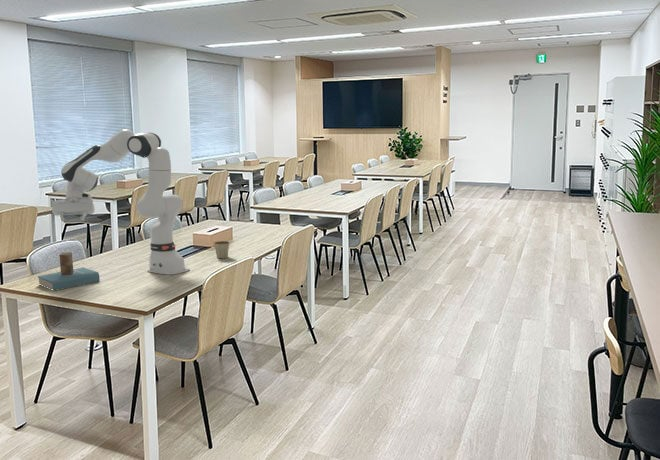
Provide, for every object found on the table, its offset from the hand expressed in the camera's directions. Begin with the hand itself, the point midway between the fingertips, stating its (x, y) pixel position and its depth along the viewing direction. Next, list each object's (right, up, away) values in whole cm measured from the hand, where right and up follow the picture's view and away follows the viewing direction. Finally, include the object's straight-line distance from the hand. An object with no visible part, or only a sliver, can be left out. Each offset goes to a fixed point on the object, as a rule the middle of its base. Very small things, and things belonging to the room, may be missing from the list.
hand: (72, 220), depth 309 cm
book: (+6, -32, -17) cm, 36 cm away
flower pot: (+70, -21, +36) cm, 82 cm away
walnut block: (+5, -26, -17) cm, 31 cm away
